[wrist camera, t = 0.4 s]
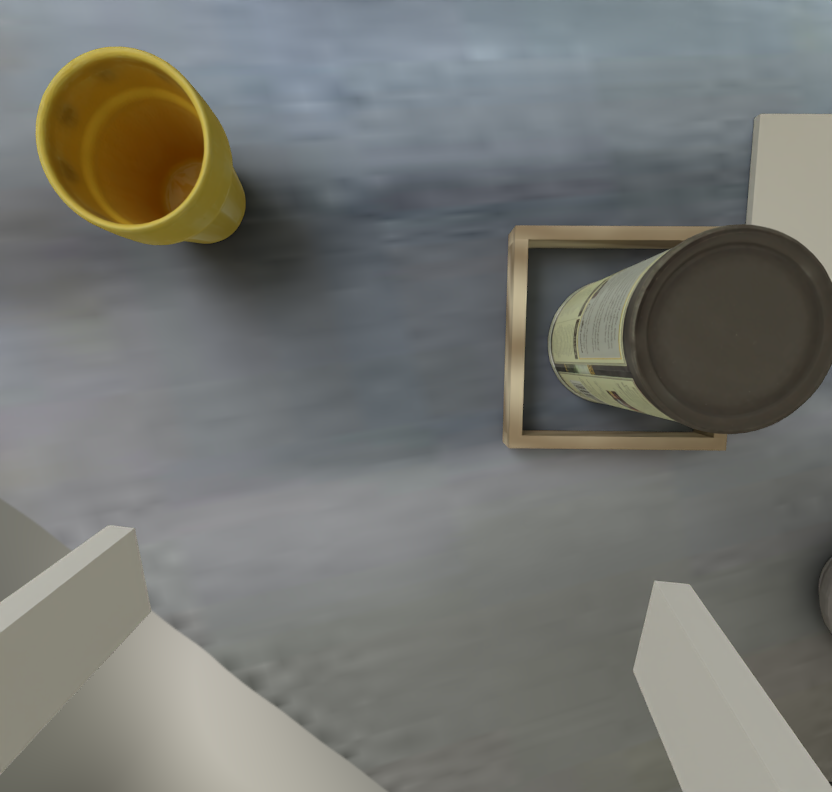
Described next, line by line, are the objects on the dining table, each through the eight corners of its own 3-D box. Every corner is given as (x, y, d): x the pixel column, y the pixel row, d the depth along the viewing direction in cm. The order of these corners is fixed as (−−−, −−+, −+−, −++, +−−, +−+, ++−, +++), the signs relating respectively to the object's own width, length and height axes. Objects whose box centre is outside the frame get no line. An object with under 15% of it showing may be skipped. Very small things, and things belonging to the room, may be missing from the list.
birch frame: (508, 235, 34) (515, 225, 31) (719, 236, 34) (743, 226, 31) (502, 441, 35) (508, 448, 33) (704, 443, 35) (725, 450, 33)
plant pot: (290, 167, 33) (236, 90, 24) (242, 287, 34) (172, 260, 25) (170, 112, 33) (66, 11, 23) (125, 235, 34) (8, 186, 24)
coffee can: (681, 286, 34) (864, 237, 20) (658, 410, 35) (818, 446, 21) (556, 270, 34) (651, 210, 20) (537, 395, 35) (614, 421, 21)
